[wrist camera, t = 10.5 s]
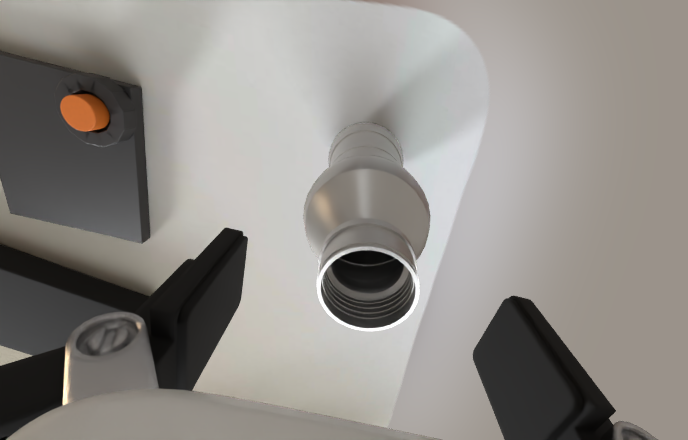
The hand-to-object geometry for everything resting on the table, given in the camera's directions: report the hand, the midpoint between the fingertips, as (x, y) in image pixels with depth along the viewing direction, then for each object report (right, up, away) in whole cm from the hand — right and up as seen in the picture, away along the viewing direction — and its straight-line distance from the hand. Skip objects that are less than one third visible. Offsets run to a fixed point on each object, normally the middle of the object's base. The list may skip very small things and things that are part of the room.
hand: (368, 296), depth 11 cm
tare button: (-22, +12, +15) cm, 29 cm away
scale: (-28, +9, +19) cm, 35 cm away
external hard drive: (-38, -9, +29) cm, 48 cm away
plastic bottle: (+1, +9, +18) cm, 20 cm away
